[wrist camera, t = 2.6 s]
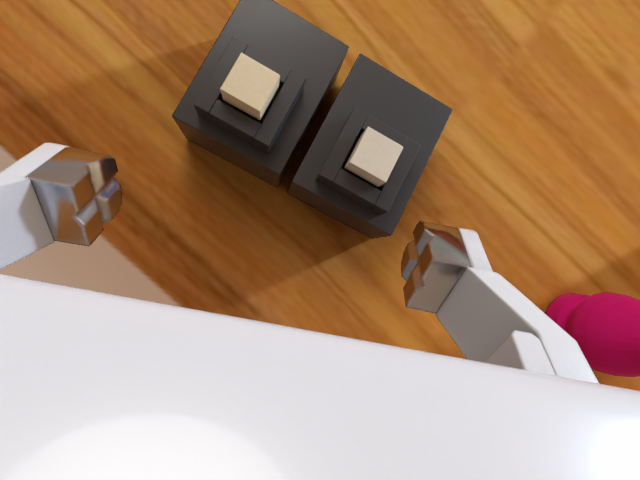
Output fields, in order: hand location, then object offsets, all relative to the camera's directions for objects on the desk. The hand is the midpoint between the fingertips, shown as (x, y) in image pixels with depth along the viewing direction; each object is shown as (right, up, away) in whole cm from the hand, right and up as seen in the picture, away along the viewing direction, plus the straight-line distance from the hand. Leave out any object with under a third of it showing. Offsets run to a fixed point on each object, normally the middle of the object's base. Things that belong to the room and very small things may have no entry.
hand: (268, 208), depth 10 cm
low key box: (+5, +7, +24) cm, 26 cm away
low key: (+5, +5, +17) cm, 19 cm away
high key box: (-4, +11, +23) cm, 26 cm away
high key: (-4, +10, +16) cm, 19 cm away
